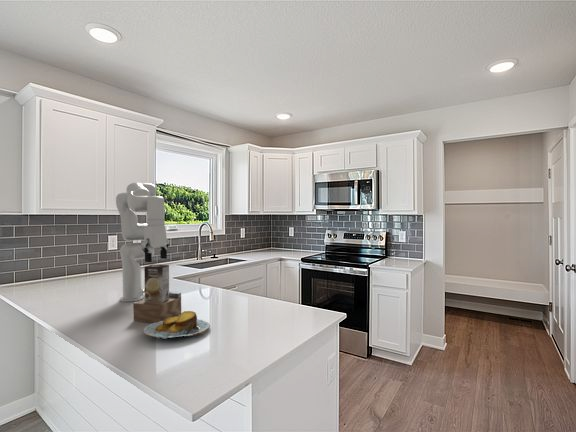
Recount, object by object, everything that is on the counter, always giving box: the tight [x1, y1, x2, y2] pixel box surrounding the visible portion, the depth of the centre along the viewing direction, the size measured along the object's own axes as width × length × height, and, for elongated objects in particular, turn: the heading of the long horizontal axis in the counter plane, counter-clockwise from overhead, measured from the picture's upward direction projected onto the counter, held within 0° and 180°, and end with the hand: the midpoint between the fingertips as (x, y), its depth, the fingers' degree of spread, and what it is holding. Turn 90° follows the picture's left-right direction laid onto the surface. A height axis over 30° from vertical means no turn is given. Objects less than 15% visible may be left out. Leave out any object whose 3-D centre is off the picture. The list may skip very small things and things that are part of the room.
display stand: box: [132, 291, 182, 324], centre depth 144 cm, size 15×14×10 cm
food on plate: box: [142, 310, 211, 340], centre depth 126 cm, size 25×25×7 cm
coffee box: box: [143, 264, 170, 302], centre depth 144 cm, size 9×6×16 cm
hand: (156, 260), depth 144 cm, fingers open, 9 cm apart
